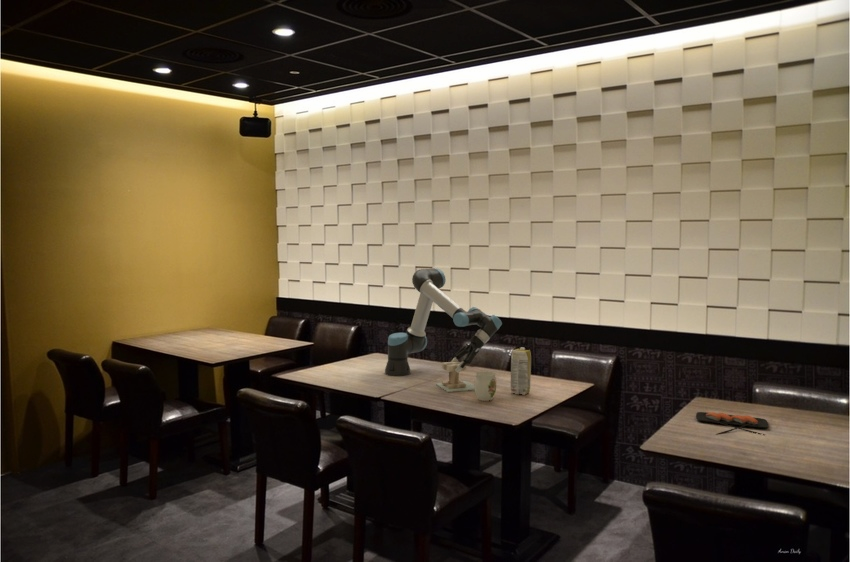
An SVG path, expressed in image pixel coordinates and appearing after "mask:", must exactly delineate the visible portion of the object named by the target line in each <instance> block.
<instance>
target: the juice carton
mask: <svg viewBox="0 0 850 562" xmlns="http://www.w3.org/2000/svg"><path fill="white" fill-rule="evenodd" d="M531 354H532V352H531V349H526V348H525V347H519V348H516V349H515V348H514V349H512V350H511V357H510V393H511V394H513V393H515V394H514V395H519V394H522V395H521V396H526V395H528V394H529V393H530V390H531V375H532V372H531V371H532V355H531ZM527 393H528V394H527ZM525 394H526V395H525Z"/></svg>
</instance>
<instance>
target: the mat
mask: <svg viewBox="0 0 850 562" xmlns="http://www.w3.org/2000/svg"><path fill="white" fill-rule="evenodd" d="M460 381H461V382H463V383H465V384H466V387H460V388H450V389H449V388H447V387H445V386H444V385H442V382H437V383H436V382H435V385H436V386H437V385H438V386H437V387H439V388H440V387H441V390H443V389H444V391H445V390H446V391H445V392H447V393H454V392H453V391H459V392H469V391H468V390H472V391H475V389H474V384H472V383H471V382H469V381H467V380H464V381H462V380H460Z"/></svg>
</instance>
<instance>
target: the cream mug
mask: <svg viewBox="0 0 850 562" xmlns="http://www.w3.org/2000/svg"><path fill="white" fill-rule="evenodd" d="M474 374H475V380H474V382H473V383H474V384H473V385H474V389H475V390H474V393H475V396H476V398H477V399H478V401H481V400H482V401H483V402H489V400H490V401H492V399H493V398H494V397H495V394H496V390H497V376H496V375H497V374H496V372H493V371H487V370H486V371H485V370H484V371H483V370H482V371H475V373H474Z"/></svg>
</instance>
